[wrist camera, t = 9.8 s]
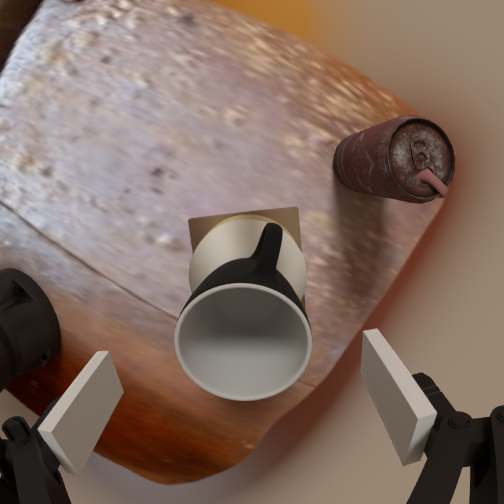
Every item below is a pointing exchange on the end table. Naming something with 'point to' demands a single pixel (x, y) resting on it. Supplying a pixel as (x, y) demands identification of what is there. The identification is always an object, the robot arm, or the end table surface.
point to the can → (397, 160)
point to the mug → (245, 327)
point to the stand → (246, 244)
